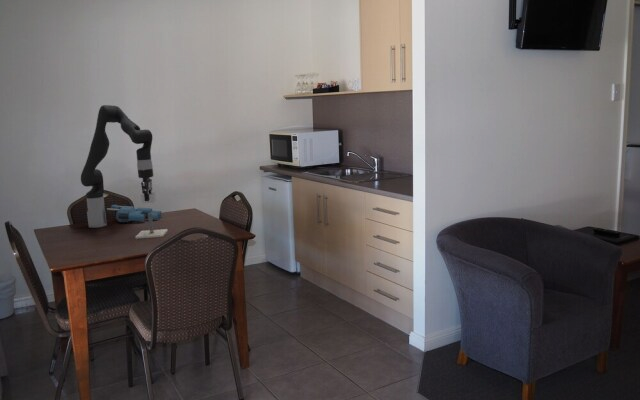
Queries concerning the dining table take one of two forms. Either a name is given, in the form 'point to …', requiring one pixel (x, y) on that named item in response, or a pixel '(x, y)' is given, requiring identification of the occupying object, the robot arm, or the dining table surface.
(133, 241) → the dining table surface
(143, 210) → the toy
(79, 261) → the dining table surface
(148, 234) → the post
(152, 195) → the collar
